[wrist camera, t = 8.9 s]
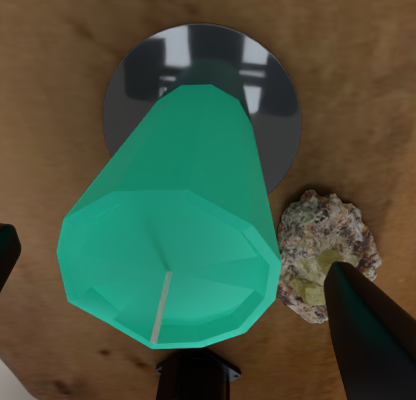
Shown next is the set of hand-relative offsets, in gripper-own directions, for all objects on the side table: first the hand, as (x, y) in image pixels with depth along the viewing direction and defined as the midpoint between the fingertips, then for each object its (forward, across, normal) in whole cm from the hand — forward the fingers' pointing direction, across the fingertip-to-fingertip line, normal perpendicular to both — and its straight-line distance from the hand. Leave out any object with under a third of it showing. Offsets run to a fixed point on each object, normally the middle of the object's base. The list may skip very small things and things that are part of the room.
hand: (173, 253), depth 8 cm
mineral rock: (+10, -9, +8) cm, 16 cm away
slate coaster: (+10, 0, 0) cm, 10 cm away
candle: (+10, 0, 0) cm, 10 cm away
